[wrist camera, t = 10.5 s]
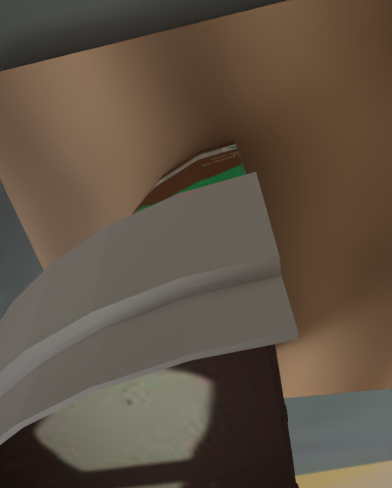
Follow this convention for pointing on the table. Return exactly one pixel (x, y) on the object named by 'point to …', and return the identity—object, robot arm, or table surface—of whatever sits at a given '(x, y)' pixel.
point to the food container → (155, 347)
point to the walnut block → (250, 150)
